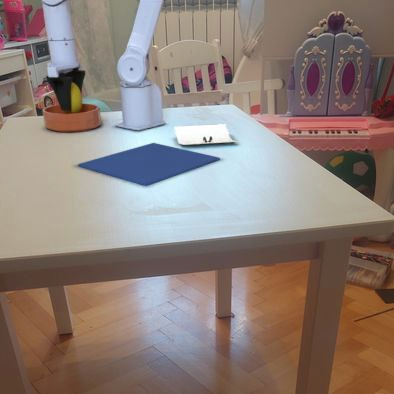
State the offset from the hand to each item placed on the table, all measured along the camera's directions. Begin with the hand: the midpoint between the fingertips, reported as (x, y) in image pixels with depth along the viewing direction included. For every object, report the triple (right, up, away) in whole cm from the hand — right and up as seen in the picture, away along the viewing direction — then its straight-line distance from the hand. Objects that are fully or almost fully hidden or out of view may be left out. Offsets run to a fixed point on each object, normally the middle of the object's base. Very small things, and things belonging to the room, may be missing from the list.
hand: (71, 107), depth 116 cm
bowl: (0, -3, +2) cm, 4 cm away
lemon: (0, -2, +1) cm, 2 cm away
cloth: (+21, -22, -23) cm, 38 cm away
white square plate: (+32, -12, -10) cm, 35 cm away
